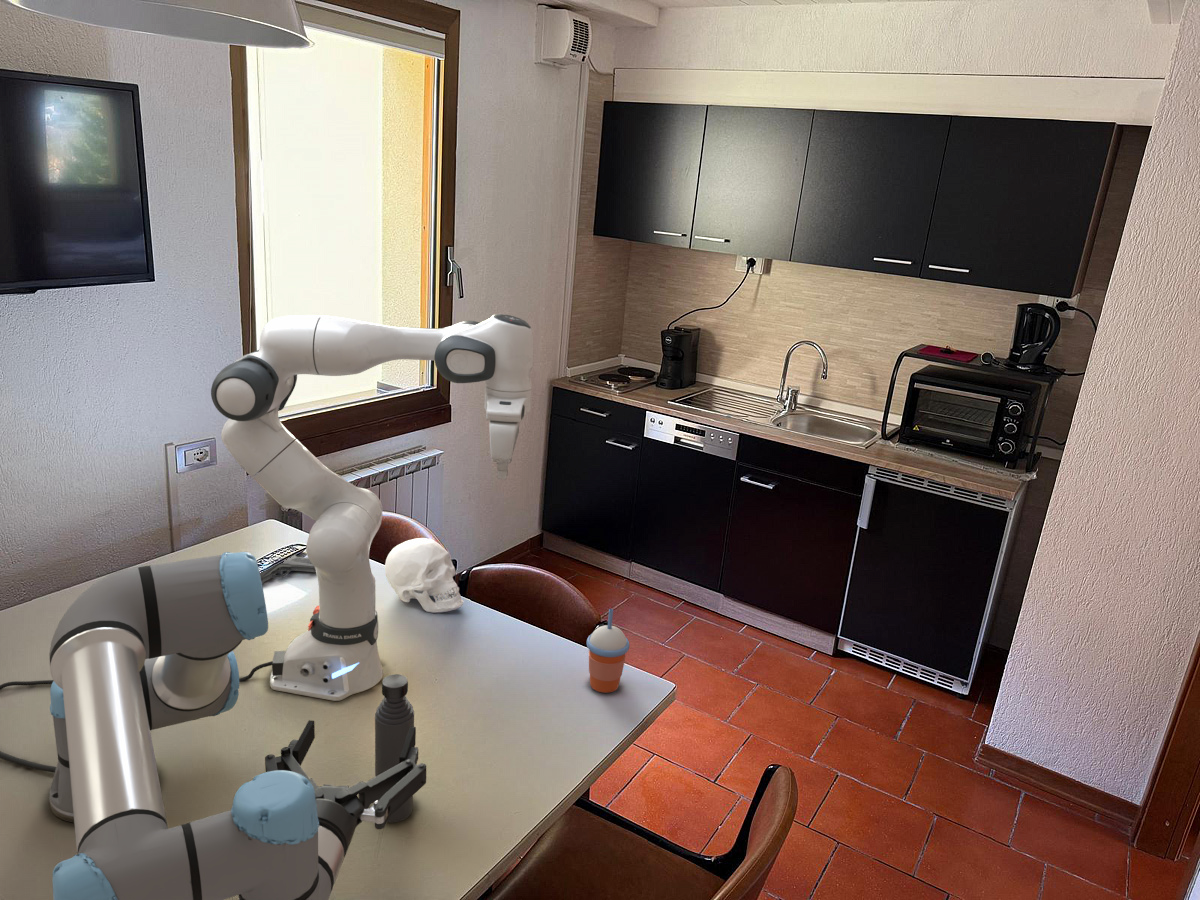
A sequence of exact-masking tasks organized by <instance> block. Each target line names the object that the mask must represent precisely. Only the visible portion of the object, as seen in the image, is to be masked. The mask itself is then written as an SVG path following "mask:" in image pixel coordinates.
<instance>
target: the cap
mask: <svg viewBox="0 0 1200 900" xmlns="http://www.w3.org/2000/svg"><path fill="white" fill-rule="evenodd" d="M408 692H409V681H408V678H407V677H406V675H403V674H400V673H395V674H394V673H393V674H389V675H387V676H385V677H383V678H382V680H381V694H382V696H383V698H384V697H385V698H388V699H400V698H402V697H404V696H407V694H408Z"/></svg>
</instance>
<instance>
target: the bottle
mask: <svg viewBox="0 0 1200 900" xmlns="http://www.w3.org/2000/svg"><path fill="white" fill-rule="evenodd" d="M410 727H415V710H414V706H413V705H412V704H411V702H410V701H409V699H408V698H407V695H405V696H404V697H402V698H400V699H388V698H385V697H384V696H383V699H382V700H381V702H380V703H379V705H378V706H377V708H376V711H375V713H374V777H376V776H378V775H380V774H381V773H383V772H385V771H387V770H389V769H391V768H392V767H394V766H396V765H398V764H399V757H400V754H401V751H402V749H403V746H404V743H405V740H406V737H407V734H408V731H409V729H410ZM379 800H380V799H378V800H377V801H379ZM413 810H414V795H413V796H412V797H411V798H409V799H408V800H407V801H406V802H405V803H404V804H403V805H402V806H401V807H400V808H399V809H397V810H396V811H395V812H394V813H393V814H392V815H391V816H390V817H389V819H388V821H387V823H398V822H401V821H404V820H406V819H408V818H409V816H411V814H412V812H413Z"/></svg>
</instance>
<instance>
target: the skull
mask: <svg viewBox="0 0 1200 900" xmlns="http://www.w3.org/2000/svg"><path fill="white" fill-rule="evenodd" d="M384 573H385V577H386V580H387V582H388V584H389V585H390V588H392V590H393V591H394V592H395V593H396V594H397V596H398V598H399V599H400V600H401V601H402V602H404V603H410V601H411V599H416V600H417V601H418V603H419V604H420V605H421V607H422V609H423V610H424V612H425V611H426V612H427V613H433V614H435V613H436V614H437V613H447V612H451V611H454V610H455V611H456V610H458V609H460V608H463V606H464V602H465V601H464V600H463V599H462V596H461V594H460V587H459V586H458V584H457V583H456V581H455V580H454V577H455V576H456V574H457V572H456V568H455V566H454V564H453V561H452V559H451V554H450V552H449V551H447V550H446V549H445V548H444V547H443V545H441V544H440V543H439V542H437V541H436V540H434V539H431V538H425V537H419V538H417V537H416V538H413V539H408V540H405V541H403V542H401V543H399V544H397V545H396V546H393V548H392V549H391V551H389V553H388V554H387V557H386V559H385V563H384ZM430 596H431V597H433V599H434V600H432V599H431V597H430Z"/></svg>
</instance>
